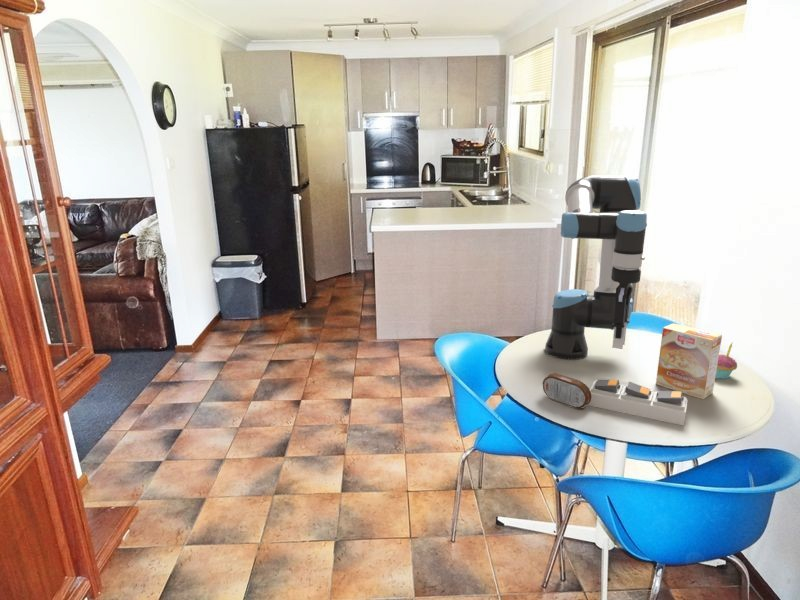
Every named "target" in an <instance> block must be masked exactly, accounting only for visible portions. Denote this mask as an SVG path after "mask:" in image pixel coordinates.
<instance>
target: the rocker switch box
mask: <svg viewBox="0 0 800 600" xmlns="http://www.w3.org/2000/svg"><path fill="white" fill-rule="evenodd" d="M597 380H598V379H594V381H593V382H592V385H591V387H590V388H589V390H590V392H591V401H590V403H589V404H588V405H587V406H589V407H595V408H598V409H599V408H600V409H604V410H608V411H613V412H618V413H624V414H628V415H632V416H637V417H642V418H647V419H651V420H656V421H661V422H666V423H670V424H675V425H680V426H685V419H686V413H687V407H688V398H687V397H686V396H683V395H682V403H681V404H674V403H664V402H659V401H657V396H658V392H659V391H655V390H651V389H650V392H649V395H648V398H647V399H644V398H639V397H635V396H632V395H630V394H627V393H625V391H626V389H627V386H628V385H623V384H619V387H618V389H617V391H603V390H598V389H595V384H596V382H597ZM654 391H655V392H654Z"/></svg>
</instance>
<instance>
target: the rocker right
mask: <svg viewBox="0 0 800 600" xmlns="http://www.w3.org/2000/svg"><path fill="white" fill-rule="evenodd" d="M657 392H658V396H657V401H659V402H664V403H674V404H681V403H682V396H683V393H682V391H676V390H658V391H657Z"/></svg>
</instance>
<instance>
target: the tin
mask: <svg viewBox="0 0 800 600" xmlns="http://www.w3.org/2000/svg"><path fill="white" fill-rule="evenodd" d="M542 390H543V393H544V394H545V396H546V397H547V398H548V399H549V400H552V401H554V402H557V403H559V404H563V405H565V406H567V407H570V408H573V409H576V410H579V409H582V408H585V407H586V406H589V405H588V404H589V403H590V401H591V392H590V388H589V386H587V384H585V382H583V381H581V380H578V379H575V378H572V377H570V376H566V375H563V374H561V373H557V372H552V373H550V374H548V375H547V376H545V377H544V379H543V381H542Z"/></svg>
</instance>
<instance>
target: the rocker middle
mask: <svg viewBox="0 0 800 600" xmlns="http://www.w3.org/2000/svg"><path fill="white" fill-rule="evenodd" d="M626 386H627V389H626V391H625V393H627V394H630V395H632V396H635V397H639V398H644V399H647V398H648V395H649V392H650V390H651V389H650V388H648V387H645V386H643V385H640V384H638V383H634V382H631V381H628V384H627V385H626Z"/></svg>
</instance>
